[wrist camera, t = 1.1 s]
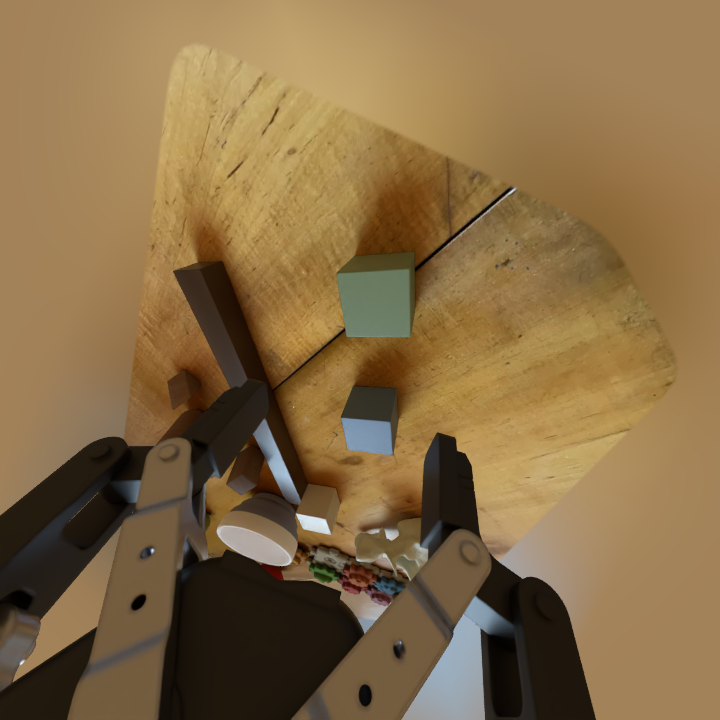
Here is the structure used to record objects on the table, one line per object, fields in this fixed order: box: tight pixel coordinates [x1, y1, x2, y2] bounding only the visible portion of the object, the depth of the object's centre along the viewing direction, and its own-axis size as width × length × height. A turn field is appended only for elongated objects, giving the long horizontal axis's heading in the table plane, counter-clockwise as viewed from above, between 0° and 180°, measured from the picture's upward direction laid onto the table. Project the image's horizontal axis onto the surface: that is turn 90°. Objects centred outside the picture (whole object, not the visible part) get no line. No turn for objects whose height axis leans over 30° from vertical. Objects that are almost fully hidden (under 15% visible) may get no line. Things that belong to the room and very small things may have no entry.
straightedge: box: [173, 261, 308, 505], centre depth 34 cm, size 3×38×3 cm, turn 7°
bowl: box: [217, 493, 298, 566], centre depth 49 cm, size 14×14×8 cm
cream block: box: [296, 484, 340, 535], centre depth 43 cm, size 5×5×5 cm
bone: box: [355, 518, 428, 581], centre depth 42 cm, size 13×15×8 cm
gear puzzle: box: [290, 546, 410, 606], centre depth 60 cm, size 31×16×4 cm, turn 76°
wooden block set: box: [155, 370, 264, 495], centre depth 36 cm, size 18×9×10 cm, turn 33°
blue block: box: [341, 386, 398, 455], centre depth 29 cm, size 5×5×5 cm
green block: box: [336, 252, 415, 337], centre depth 21 cm, size 5×5×5 cm
